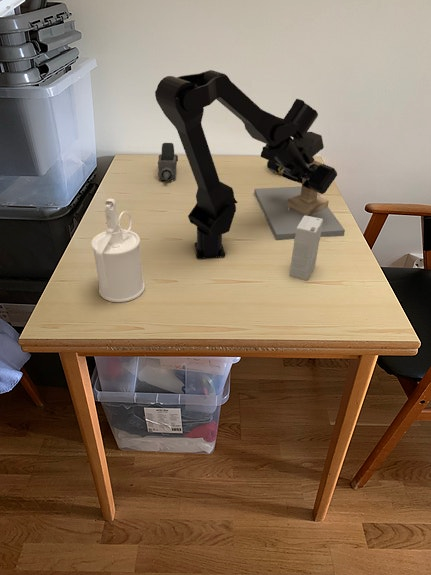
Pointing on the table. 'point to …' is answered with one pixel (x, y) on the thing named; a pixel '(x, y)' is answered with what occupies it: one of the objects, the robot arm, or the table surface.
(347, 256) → the table surface
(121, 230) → the smoke grenade
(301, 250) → the skincare box
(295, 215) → the board
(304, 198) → the wooden block tower
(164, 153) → the caster wheel
